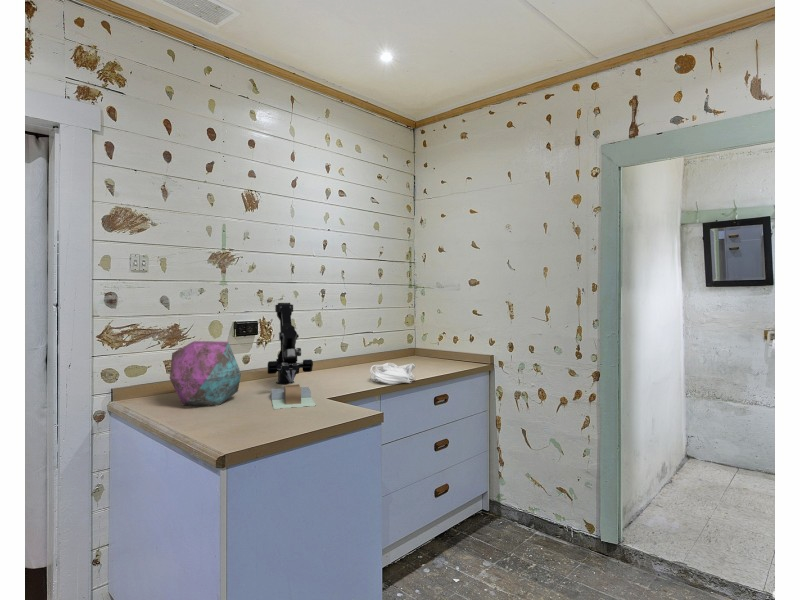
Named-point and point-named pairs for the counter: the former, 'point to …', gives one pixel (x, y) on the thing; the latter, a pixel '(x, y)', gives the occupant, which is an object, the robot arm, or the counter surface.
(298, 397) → the block
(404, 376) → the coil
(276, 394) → the plate
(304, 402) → the mat
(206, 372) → the decorative object
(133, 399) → the counter surface
